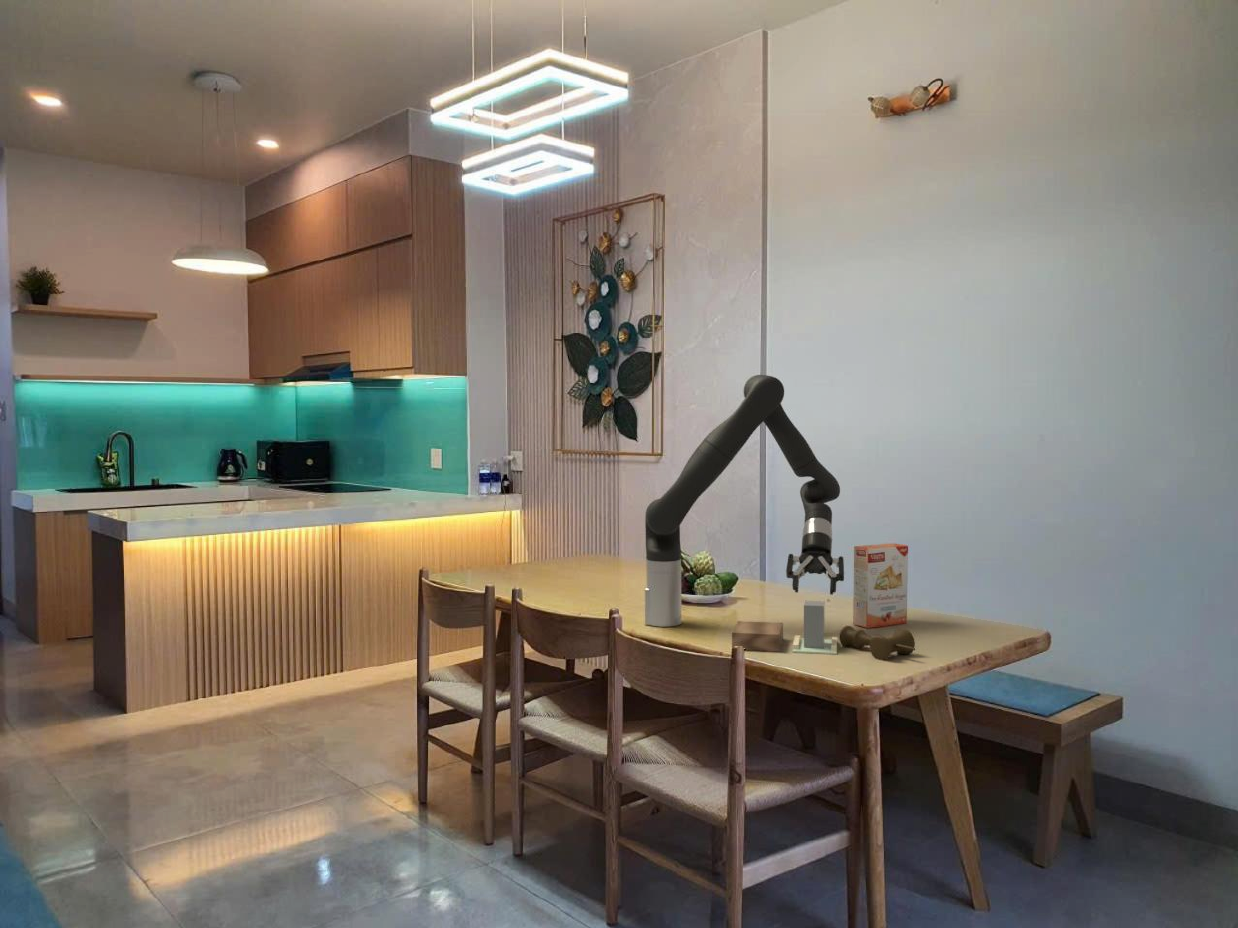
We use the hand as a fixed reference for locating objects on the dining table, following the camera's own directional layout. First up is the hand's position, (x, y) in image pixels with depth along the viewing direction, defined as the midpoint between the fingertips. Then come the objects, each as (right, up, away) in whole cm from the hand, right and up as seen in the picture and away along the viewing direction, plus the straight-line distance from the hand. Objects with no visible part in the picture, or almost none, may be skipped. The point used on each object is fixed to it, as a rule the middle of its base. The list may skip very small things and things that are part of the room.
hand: (814, 591), depth 232 cm
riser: (-15, -12, -7) cm, 20 cm away
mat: (-2, -12, -10) cm, 16 cm away
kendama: (+11, -12, -17) cm, 24 cm away
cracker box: (+20, -11, +14) cm, 27 cm away
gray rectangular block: (-2, -11, -10) cm, 15 cm away
